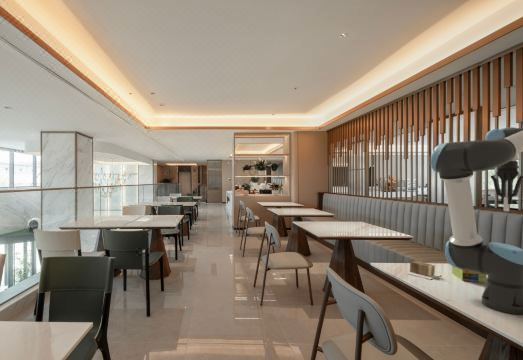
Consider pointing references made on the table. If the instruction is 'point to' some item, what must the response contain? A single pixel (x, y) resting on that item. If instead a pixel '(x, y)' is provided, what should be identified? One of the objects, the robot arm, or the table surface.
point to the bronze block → (422, 268)
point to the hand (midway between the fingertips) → (506, 210)
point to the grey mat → (425, 276)
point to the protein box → (469, 275)
